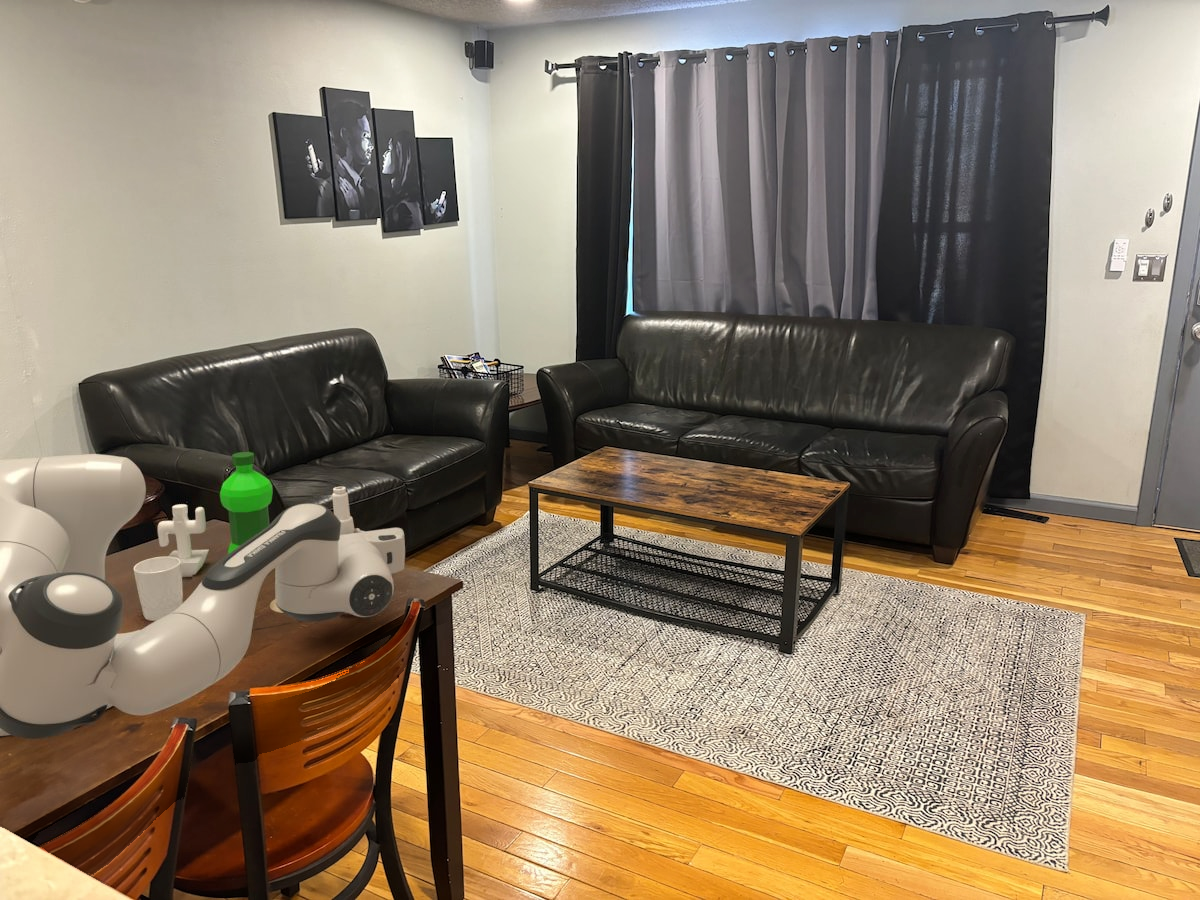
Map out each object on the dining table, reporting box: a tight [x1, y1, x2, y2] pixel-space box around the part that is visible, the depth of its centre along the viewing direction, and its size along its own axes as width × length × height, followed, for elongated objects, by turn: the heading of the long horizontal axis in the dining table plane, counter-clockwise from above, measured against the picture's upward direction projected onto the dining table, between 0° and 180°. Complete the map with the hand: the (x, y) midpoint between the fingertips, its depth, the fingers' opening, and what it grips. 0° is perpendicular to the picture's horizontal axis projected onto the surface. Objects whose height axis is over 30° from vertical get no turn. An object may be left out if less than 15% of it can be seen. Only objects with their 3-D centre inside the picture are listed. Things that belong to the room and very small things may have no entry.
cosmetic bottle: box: [331, 486, 355, 535], centre depth 161 cm, size 6×6×22 cm
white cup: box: [132, 556, 184, 622], centre depth 161 cm, size 8×8×10 cm
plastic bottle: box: [219, 451, 274, 555], centre depth 181 cm, size 10×10×25 cm
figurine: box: [157, 503, 210, 578], centre depth 179 cm, size 7×9×15 cm
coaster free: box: [269, 598, 284, 614], centre depth 167 cm, size 9×9×1 cm
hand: (341, 533), depth 161 cm, fingers closed on cosmetic bottle, 3 cm apart
